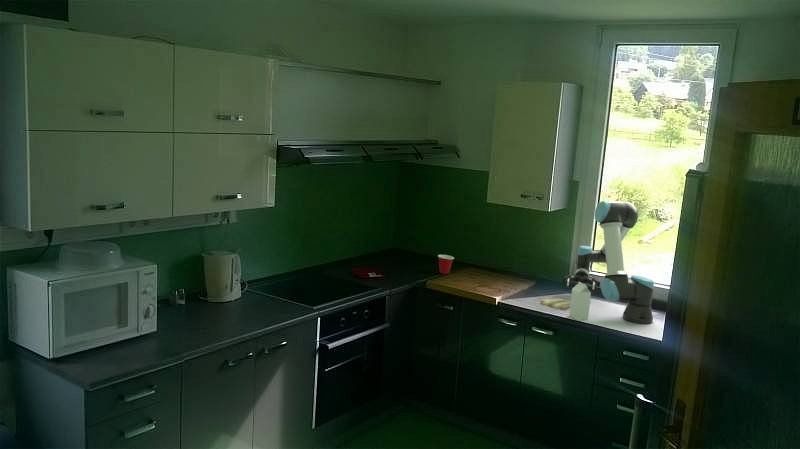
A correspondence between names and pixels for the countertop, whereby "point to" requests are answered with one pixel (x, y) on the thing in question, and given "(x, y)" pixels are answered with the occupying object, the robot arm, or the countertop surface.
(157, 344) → the countertop surface
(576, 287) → the milk carton
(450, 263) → the plastic cup
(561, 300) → the yellow ridged slab
